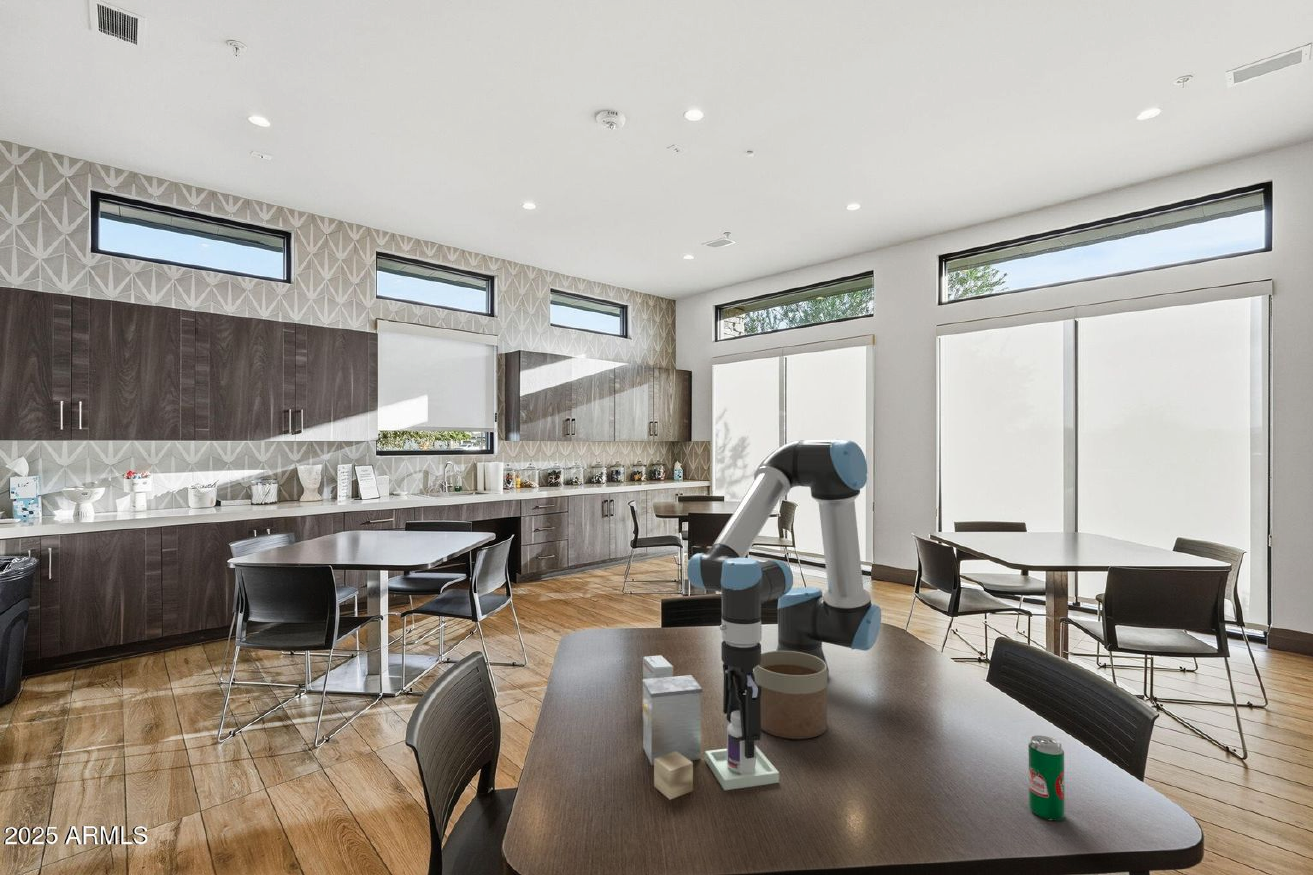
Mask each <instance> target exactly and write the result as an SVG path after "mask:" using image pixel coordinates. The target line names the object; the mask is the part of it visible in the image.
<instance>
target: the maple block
mask: <svg viewBox="0 0 1313 875" xmlns="http://www.w3.org/2000/svg"><path fill="white" fill-rule="evenodd" d="M653 786H654V787H655V788H656V789H657V790H658V791H659V792H661V794H663V795H664V796H665V797H666V798H667V799H668V800H673V799H676V798H678V797H680V796H683V795H686V794H688V793H691V792H693V791H694V763H693V761H692V760H688V759H687V758H685V757H684V756H683V755H681V754H680V753H678V752H677V751H676V752H673V753H670V754H667V755H664V756H661V757H658V758H655V759H654V765H653Z"/></svg>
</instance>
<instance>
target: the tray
mask: <svg viewBox="0 0 1313 875" xmlns="http://www.w3.org/2000/svg"><path fill="white" fill-rule="evenodd" d="M704 753H705V754H704V756H705V759H704V761H705V762H706V764H707V766H708V767H709V769H710V770H711V772H712V773H713V775H714V776H715V778H716V779H717V781H718V783H719V784H720V785H721V788H722V789H723V791H729V790H735V789H737V790H738V789H743V788H753V787H757V786H758V787H759V786H765V785H771V784H777V783H778V784H779V783H780V772H779V771H778V770H777V768H776V767H775V766H774V765H773V764H772V763H771V761H770V760H769V758H767V757H766V755H765V754H764V753H763V751H762V750H760V748H759V747H758V746H757V745H756V765H755V773H753V774H746V775H741V774H740V773H739V772H735V771H733V770H731V769H730V768H729V767H728V765H727V748H719V749H711V750H705V751H704Z"/></svg>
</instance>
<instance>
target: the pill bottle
mask: <svg viewBox="0 0 1313 875" xmlns="http://www.w3.org/2000/svg"><path fill="white" fill-rule="evenodd" d="M741 736H742V730H741V719H740V710H737V711H733V712H732V713H731V723H730V724H729V725H728V724H727V727H726V749H727V765H728V767H729V768H730V769H731V770H733V771H735V772H739V773H740V741H739V738H738V737H741ZM756 743H757V741H755V765H756V746H757V744H756Z"/></svg>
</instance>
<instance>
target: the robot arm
mask: <svg viewBox="0 0 1313 875" xmlns="http://www.w3.org/2000/svg"><path fill="white" fill-rule="evenodd" d="M866 459H867V458H866V456H865V454H864V452H863V450H862V448H861V447H860V446H859V445H858V443H856V442H855V441H851V440H842V439H821V440H820V439H819V440H815V439H814V440H812V439H811V440H805V439H804V440H803V439H799V440H794V441H789V442H788V443H785V444H783V445H781V446H779V447H777V449H775V450H774V451H772V452H771V453H770V454H768V456H767V457H766V458H765V459H764V460H762V462H761V463H760V464H759V466H758V467H757V468H756V470H755V471H754V474H753V481H752V483H751V485H750V487H749V488H748V490H747V492H746V493H745V494H744V496H743V498H742V499H741V500H740V502H739V504H738V505H737V507H736V508H735V510H734V511H733V513H732V515H731V516H730V518H729V519H728V521H727V522H726V524H725V525H724V527H723V528H722V530H721V532H720V533H719V535H718V537H717V538H716V539H715V541H714V542H713V544H712V545H711V547H710V548H709V550H708V551H707V552H706V553H705V552H701V553H699V552H697V553H696V554H694V555H692V556H691V557H690V559H689V561H688V563H687V567H686V576H687V579H688V582H689V583H690V584H691V585H692V586H693V587H696V588H699V589H703V590H706V591H714V592H720V593H721V624H720V625H719V630H720V631H721V639H722V640H723V641H722V642H721V646H720V647H721V648H720V649H721V651H720V652H721V653H720V654H721V656H720V657H721V662H722V671H723V698H722V699H723V700H722V701H723V702H722V704H723V705H722V706H723V707H722V708H723V709H722V711H723V714H724V715H726V716H725V717H726V721H727V726H728V725H729V724H730V723H731V713H732V712H733V711H737V710H740V719H741V730H742V736H741V737H738V738H739V741H740V774H741V775H746V774H753V773H755V741H756V742H757V741H761V740H762V729H761V703H760V699H761V692H762V688H761V686H760V685H758V686H756V685H755V676H754V667H756V666H758V665H759V664H760V663H761V654H762V644H761V641H762V605H763V604H765V603H768V602H771V601H774V600H777V647H776V649H775V651H795V652H802V653H806V654H810V655H813V656H816V657H818V658H820V659H821V660H823V661H824V662H825V663H826V665H827V682H828V681H829V678H830V670H829V666H828V663H827V662H828V661H827V660H826V656H825V654H824V651H823V643H825V644H829V645H830V644H831V645H835V646H839V647H844V648H849V649H851V650H853V651H854V650H858V651H859V650H860V651H866V652H867V651H869V650H870V649H872V648H873V647H874V645H875V644H876V642H877V640H878V637H879V633H880V631H881V625H882V610H881V608H880V606H879V605H877V604H875V603H872V599H871V597H872V596H871V594H870V592H869V591H867V589H865V588H864V581H863V573H862V562H861V552H860V551H861V550H860V543H859V533H858V530H859V529H858V521H857V515H856V514H857V513H856V503H855V500H856V499H857V497H859V495H861V489H863V488H864V487H865V486H866V484H867V480H868V475H867V474H868V464H867V460H866ZM795 487H805V488H807V487H808V488H810V496H811V498H812V499H814V500H815V501H816V502H817V503H818V510H819V519H820V527H821V528H820V529H821V537H822V546H823V552H824V553H823V554H824V562H825V571H826V573H825V574H826V582H827V590H825V592H823V590H822V589H820V588H818V587H809V586H808V587H807V586H806V587H804V586H803V587H794V588H792V587H793V584H794V576H793V573H792V572H793V571H792V569H791V568H790V567H789V565H788V564H787V563H786V562H784V561H782V560H778V559H773V560H772V559H768V560H766V561H759V560H758V559H755V558H752V557H751V558H749V557H746V556H747V554H748V553H749V551H750V549H751V547H752V546H753V545H754V543H755V541H756V540H757V539H758V538H757V537H758V536H759V534H760V533H761V531H762V530H763V528H764V526H765V524H766V523H767V521H768V520H769V518H770V516H771V515H772V513H773V511H774V509H775V508H776V506H777V504H778V502H780V499H782V498H781V497H785V496H787V495H788V494H789V493H790V491H791V489H793V488H795Z"/></svg>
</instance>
